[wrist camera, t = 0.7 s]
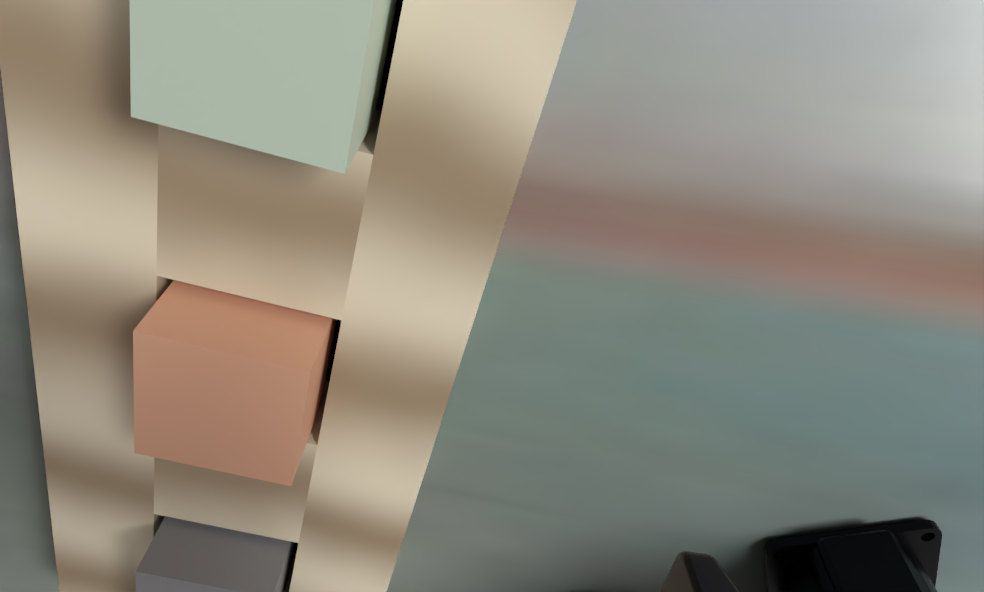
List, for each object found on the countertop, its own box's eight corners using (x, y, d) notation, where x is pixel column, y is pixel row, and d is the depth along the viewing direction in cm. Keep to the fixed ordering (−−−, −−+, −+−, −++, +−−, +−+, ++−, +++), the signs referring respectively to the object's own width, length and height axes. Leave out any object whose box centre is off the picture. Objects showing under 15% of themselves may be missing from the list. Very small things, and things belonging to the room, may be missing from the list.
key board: (373, 604, 31) (360, 670, 29) (100, 551, 30) (62, 616, 27) (611, -162, 15) (629, -164, 13) (51, -352, 14) (-51, -395, 12)
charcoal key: (287, 581, 28) (259, 666, 25) (177, 559, 28) (136, 644, 25) (300, 512, 26) (271, 597, 23) (179, 487, 25) (135, 571, 22)
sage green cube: (374, 119, 18) (345, 173, 15) (198, 69, 17) (130, 116, 14) (410, -70, 15) (383, -50, 12) (206, -134, 15) (128, -128, 12)
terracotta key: (320, 404, 23) (290, 486, 20) (184, 373, 22) (134, 453, 19) (341, 296, 21) (310, 372, 18) (190, 259, 20) (132, 330, 17)
